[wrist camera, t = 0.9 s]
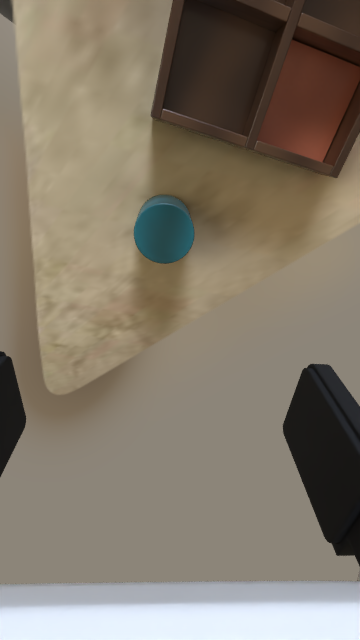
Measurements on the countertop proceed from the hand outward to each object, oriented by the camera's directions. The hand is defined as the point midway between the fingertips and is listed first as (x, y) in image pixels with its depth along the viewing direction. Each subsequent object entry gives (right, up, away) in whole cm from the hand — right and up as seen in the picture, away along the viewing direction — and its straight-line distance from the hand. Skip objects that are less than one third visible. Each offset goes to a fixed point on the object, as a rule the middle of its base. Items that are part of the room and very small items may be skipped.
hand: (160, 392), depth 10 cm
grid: (+7, +20, +9) cm, 23 cm away
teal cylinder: (-1, +10, +14) cm, 18 cm away
